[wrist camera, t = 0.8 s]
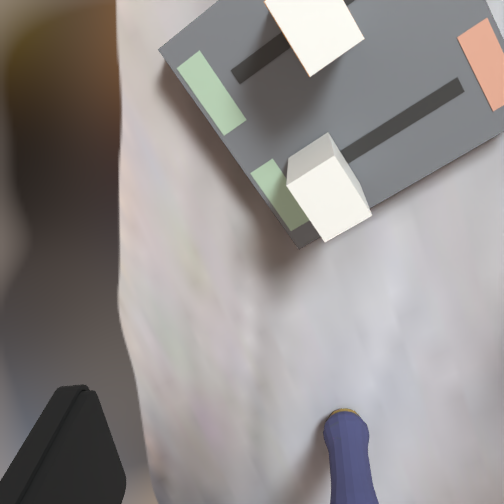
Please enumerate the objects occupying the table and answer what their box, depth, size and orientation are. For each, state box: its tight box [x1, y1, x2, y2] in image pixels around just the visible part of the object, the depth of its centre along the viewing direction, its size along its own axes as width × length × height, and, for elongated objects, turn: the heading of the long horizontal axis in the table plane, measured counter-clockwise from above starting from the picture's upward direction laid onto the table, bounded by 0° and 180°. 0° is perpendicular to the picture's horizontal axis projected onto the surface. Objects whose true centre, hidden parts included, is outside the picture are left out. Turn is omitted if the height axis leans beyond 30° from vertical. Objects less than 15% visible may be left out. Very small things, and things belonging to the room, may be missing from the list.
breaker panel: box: [158, 0, 504, 249], centre depth 28 cm, size 17×16×9 cm
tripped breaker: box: [264, 0, 365, 77], centre depth 25 cm, size 3×4×6 cm
